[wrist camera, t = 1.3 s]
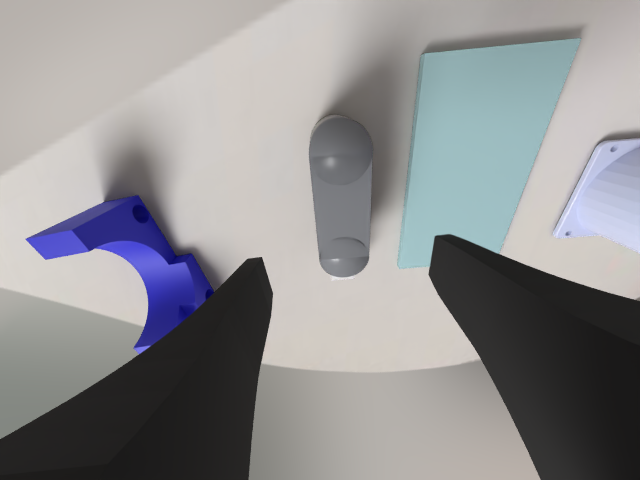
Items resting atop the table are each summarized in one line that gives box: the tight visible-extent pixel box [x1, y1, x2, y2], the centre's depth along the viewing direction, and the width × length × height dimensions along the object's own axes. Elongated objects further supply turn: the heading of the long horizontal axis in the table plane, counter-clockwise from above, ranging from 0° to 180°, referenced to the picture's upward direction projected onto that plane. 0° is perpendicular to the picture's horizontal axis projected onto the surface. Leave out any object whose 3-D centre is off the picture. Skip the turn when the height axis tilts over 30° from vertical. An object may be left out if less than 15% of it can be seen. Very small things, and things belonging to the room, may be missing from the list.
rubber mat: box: [397, 38, 581, 269], centre depth 18 cm, size 9×16×1 cm, turn 5°
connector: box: [309, 115, 373, 280], centre depth 17 cm, size 4×12×4 cm, turn 5°
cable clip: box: [26, 195, 214, 354], centre depth 19 cm, size 12×4×6 cm, turn 11°
